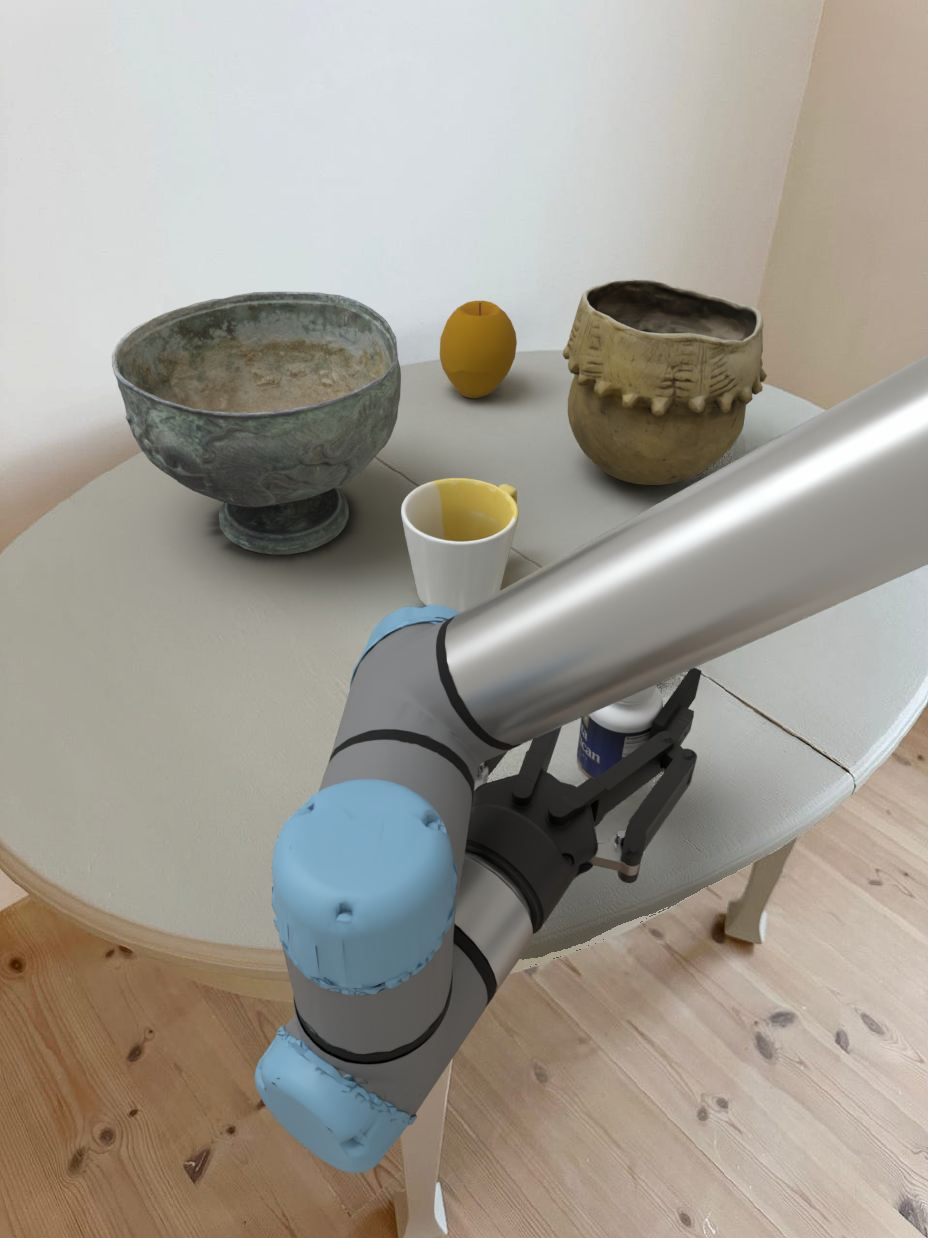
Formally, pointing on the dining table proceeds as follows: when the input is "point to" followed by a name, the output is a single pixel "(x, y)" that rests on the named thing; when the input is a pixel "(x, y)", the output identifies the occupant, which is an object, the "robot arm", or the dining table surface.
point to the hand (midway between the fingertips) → (654, 666)
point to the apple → (477, 348)
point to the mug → (459, 539)
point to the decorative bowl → (264, 407)
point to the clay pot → (660, 378)
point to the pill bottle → (616, 731)
